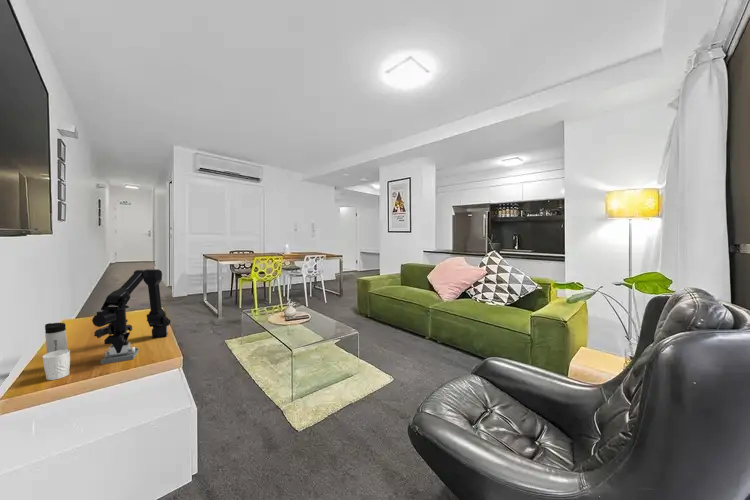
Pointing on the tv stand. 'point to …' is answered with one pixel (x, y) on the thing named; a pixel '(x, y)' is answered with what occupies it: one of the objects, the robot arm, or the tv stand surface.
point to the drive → (124, 349)
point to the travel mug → (55, 337)
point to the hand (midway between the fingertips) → (120, 351)
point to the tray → (119, 356)
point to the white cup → (57, 364)
